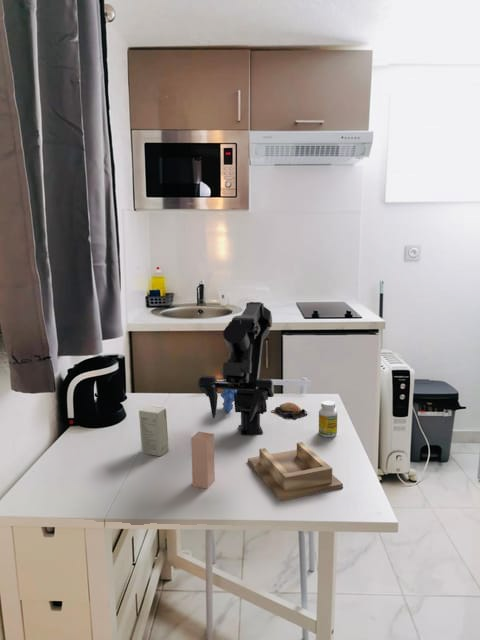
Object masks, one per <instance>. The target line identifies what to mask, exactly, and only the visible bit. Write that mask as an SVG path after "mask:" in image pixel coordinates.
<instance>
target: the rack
mask: <svg viewBox="0 0 480 640" xmlns="http://www.w3.org/2000/svg"><path fill="white" fill-rule="evenodd" d="M258 451H259V455H258V456H253V457H248V458H247V462H248V465H250V466H251V467H252V469H253V470H254V471H255V472H256V474H258V476H259V477H260V478H261V480H262V481H263V482H264V483H265V485H267V487H268V488H269V489H270V490H271V492H272V493H273V494H274V495H275V497H276V498H277V499H278V500H279V501H280V502H281V501H286V500H291V499H295V498H300V497H305V496H309V495H315V494H320V493H324V492H328V491H333V490H338V489H343V487H344V483H343V482H342V481H340V480H339V479H338V478H337V477H336V476H335V475H334V474H333V467H332V466H330V464H328V463H327V462H326V461H324V459H322V458H321V457H320V456H319V455H318V454H317V453H315V451H313V450H312V449H311V448H310V447H309V446H307V444H305V443H304V442H303V441H298V442H296V449H293V450H287V451H282V452H281V451H280V452H276V453H270V452H269V451H268V450H267V449H266V448H259V449H258Z"/></svg>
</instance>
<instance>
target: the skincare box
mask: <svg viewBox="0 0 480 640" xmlns="http://www.w3.org/2000/svg"><path fill="white" fill-rule="evenodd" d="M138 416H139V429H140V442H141V453H142V454H146V455H151V456H152V455H153V456H157V457H158V456H159V457H161V456H163V455H164V454H166V453H167V452H168V451H169V450H170V449H169V434H168V419H167V418H168V417H167V408H165V407H161V406H153V405H146V406H145V407H142V408H141V409H139V410H138Z"/></svg>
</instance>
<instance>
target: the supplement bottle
mask: <svg viewBox="0 0 480 640" xmlns="http://www.w3.org/2000/svg"><path fill="white" fill-rule="evenodd" d="M320 406H321V408H320V409H319V411H318V434H319V435H320V436H322V437H324V438H332V437H336V436H337V434H338V410H337V409H336V402H335V401H332V400H323V401H321V403H320Z"/></svg>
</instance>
